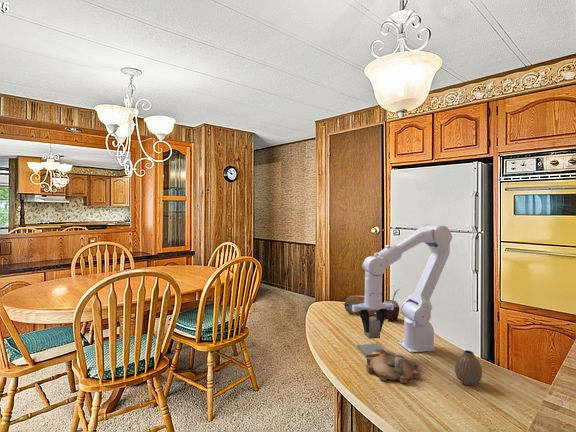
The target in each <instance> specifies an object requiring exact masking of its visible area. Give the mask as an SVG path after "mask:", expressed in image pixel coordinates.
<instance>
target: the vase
mask: <svg viewBox="0 0 576 432" xmlns="http://www.w3.org/2000/svg"><path fill="white" fill-rule="evenodd" d="M455 360H456V361H455V363H454V374H455V376H456V378H457V379H458V381H459V382H460V383H461V384H463V385H465V386H469V387H474V386H476V385H478V384H479V383H480V382H481V380H482V378H483V369H482V364H481V363H480V361H479V360H478V358H477V357H476V355H475V353H474V352H473V351H471V350H468V349H467V350H463V352H462V353H461V355H459V356H458V357H457V358H456V359H455Z"/></svg>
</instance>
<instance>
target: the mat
mask: <svg viewBox="0 0 576 432" xmlns="http://www.w3.org/2000/svg"><path fill="white" fill-rule="evenodd" d="M356 348H357V349H358V350H359V351H360V352H361V353H362V355H364V356H365V358H368V357H376V356H379V354H385V355H389V352H388V351H387V350H386V349H385V348H384V347H382V346H381V345H380V344H379V343H367V344H356ZM389 356H390V355H389Z"/></svg>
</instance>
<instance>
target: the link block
mask: <svg viewBox="0 0 576 432" xmlns="http://www.w3.org/2000/svg"><path fill="white" fill-rule="evenodd" d="M363 335H364V336H365V337H366V338H367V339H369V340H370V339H371V340H372V339H373V340H374V339H381V332H380V320H379V319H377V318H376V316H370V318H369V331H368V333H366V332H365V331H364V330H363Z"/></svg>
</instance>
